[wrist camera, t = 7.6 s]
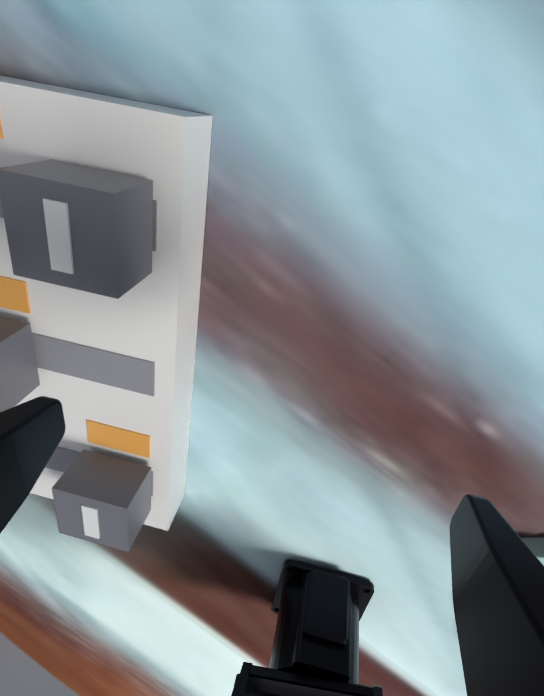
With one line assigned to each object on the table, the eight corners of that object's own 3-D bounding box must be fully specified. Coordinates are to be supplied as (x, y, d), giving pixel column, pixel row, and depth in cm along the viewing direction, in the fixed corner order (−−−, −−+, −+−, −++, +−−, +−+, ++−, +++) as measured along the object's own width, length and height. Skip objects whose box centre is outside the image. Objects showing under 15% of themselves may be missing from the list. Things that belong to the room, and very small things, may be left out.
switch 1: (152, 272, 17) (116, 300, 15) (61, 252, 18) (11, 275, 15) (152, 180, 15) (112, 194, 13) (50, 159, 16) (-8, 168, 13)
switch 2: (150, 509, 25) (127, 553, 22) (87, 492, 25) (57, 534, 23) (151, 467, 23) (125, 510, 21) (83, 449, 23) (50, 489, 21)
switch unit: (185, 493, 29) (167, 532, 26) (-2, 443, 30) (-38, 475, 27) (212, 115, 17) (184, 117, 14) (-99, 56, 18) (-177, 47, 16)
